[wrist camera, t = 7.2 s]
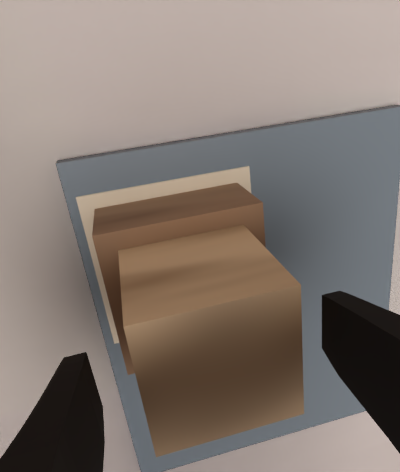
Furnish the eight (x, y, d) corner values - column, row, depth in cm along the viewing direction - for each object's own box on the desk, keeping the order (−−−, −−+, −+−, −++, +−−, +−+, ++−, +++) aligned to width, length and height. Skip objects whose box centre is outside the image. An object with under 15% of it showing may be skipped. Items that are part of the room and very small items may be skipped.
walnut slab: (247, 301, 19) (271, 338, 16) (124, 330, 18) (127, 375, 15) (236, 182, 16) (262, 202, 14) (94, 209, 15) (91, 236, 13)
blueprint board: (374, 399, 25) (381, 407, 24) (141, 467, 22) (142, 479, 22) (396, 105, 17) (407, 105, 17) (57, 160, 15) (55, 164, 14)
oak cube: (252, 326, 16) (304, 413, 12) (142, 354, 15) (155, 457, 11) (243, 224, 14) (300, 284, 10) (118, 250, 13) (123, 326, 9)
